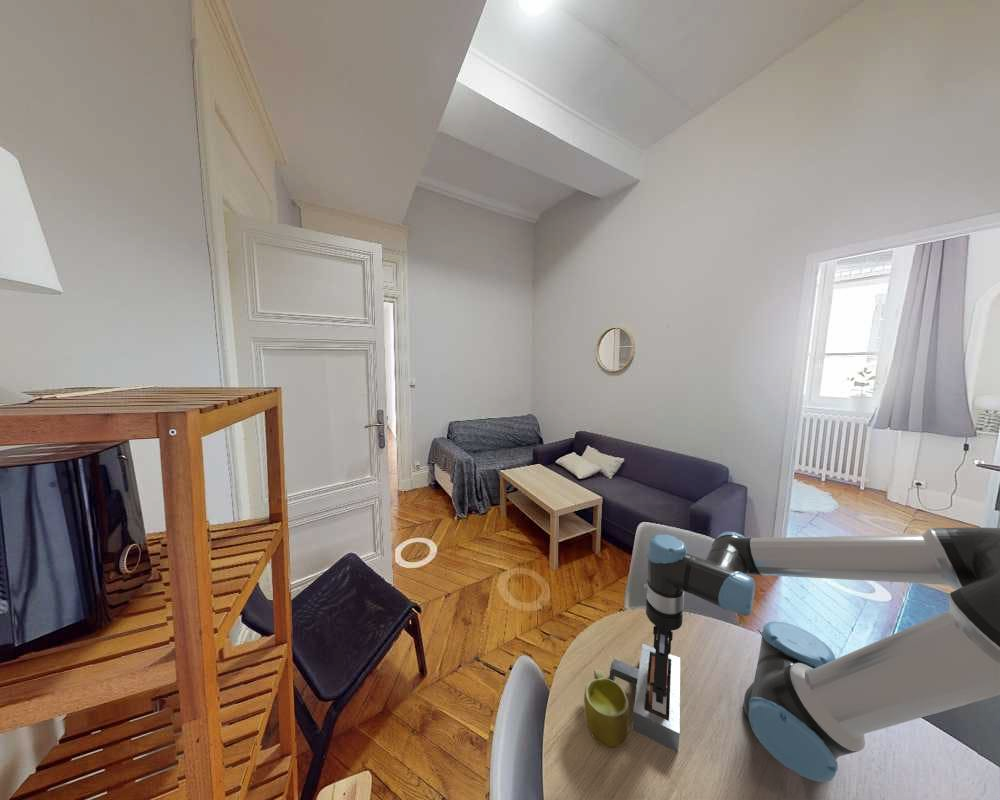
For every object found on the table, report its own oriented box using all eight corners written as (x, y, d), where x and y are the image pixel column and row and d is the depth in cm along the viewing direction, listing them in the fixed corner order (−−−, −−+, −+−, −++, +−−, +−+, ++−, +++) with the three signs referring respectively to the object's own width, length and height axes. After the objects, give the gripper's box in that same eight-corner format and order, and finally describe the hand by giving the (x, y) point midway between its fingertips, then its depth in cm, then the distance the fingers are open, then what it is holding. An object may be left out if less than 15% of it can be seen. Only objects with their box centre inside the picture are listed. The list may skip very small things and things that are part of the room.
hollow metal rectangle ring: (678, 674, 86) (680, 657, 85) (678, 752, 70) (679, 733, 69) (616, 649, 93) (617, 633, 92) (602, 715, 77) (603, 697, 76)
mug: (641, 757, 67) (625, 705, 68) (591, 758, 70) (577, 709, 71) (633, 705, 79) (620, 662, 80) (591, 708, 82) (579, 666, 83)
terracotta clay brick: (649, 690, 82) (652, 655, 81) (665, 696, 81) (668, 661, 79) (648, 703, 79) (650, 667, 78) (664, 710, 78) (667, 674, 76)
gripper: (650, 566, 88) (648, 636, 91) (640, 638, 66) (637, 727, 70) (682, 574, 84) (679, 647, 88) (683, 654, 63) (678, 746, 66)
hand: (660, 682), depth 79 cm, fingers open, 13 cm apart
